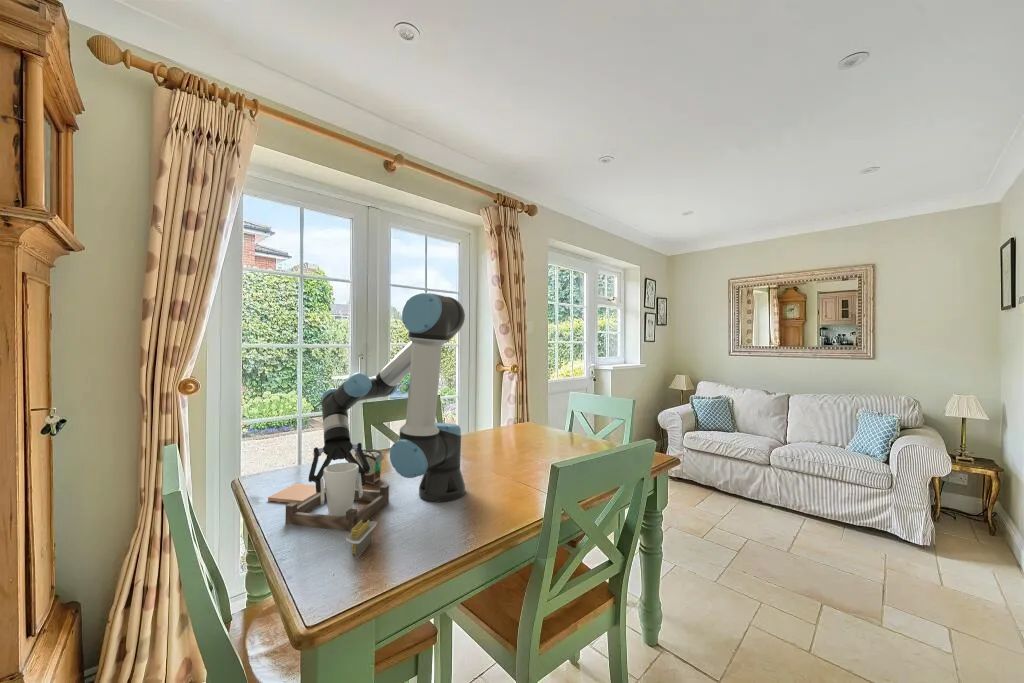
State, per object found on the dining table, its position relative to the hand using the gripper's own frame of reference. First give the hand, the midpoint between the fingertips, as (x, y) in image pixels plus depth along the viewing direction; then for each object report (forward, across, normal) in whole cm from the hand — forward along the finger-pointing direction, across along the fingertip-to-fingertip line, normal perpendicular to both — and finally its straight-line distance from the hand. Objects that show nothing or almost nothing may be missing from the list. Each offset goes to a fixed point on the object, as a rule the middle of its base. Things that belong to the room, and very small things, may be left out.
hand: (342, 498), depth 114 cm
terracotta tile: (-12, +10, -19) cm, 25 cm away
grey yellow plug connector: (+19, -2, +11) cm, 22 cm away
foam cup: (+1, 0, -6) cm, 6 cm away
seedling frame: (+1, 0, -6) cm, 6 cm away
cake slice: (-15, -14, -23) cm, 31 cm away
